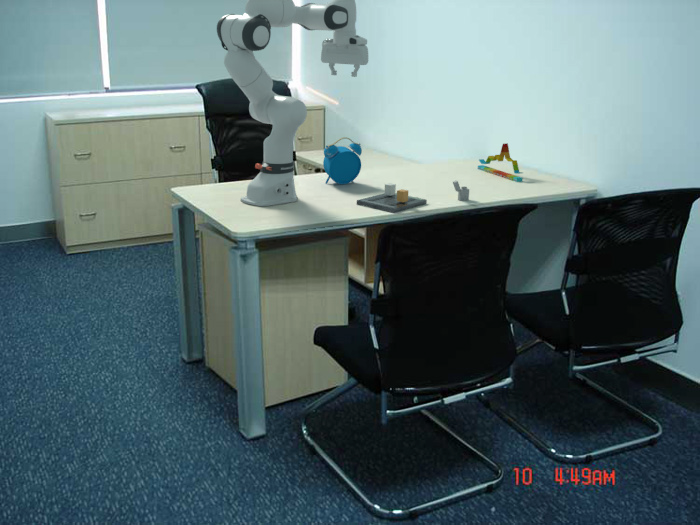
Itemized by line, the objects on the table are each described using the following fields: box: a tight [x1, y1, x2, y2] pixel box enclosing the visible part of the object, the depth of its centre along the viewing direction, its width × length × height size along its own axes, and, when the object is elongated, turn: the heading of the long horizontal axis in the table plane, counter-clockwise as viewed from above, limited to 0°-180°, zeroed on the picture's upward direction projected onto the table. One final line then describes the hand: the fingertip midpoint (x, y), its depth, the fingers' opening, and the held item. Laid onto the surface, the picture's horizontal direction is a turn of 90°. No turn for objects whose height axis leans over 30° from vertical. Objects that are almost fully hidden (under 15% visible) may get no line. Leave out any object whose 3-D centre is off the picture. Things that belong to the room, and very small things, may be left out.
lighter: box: [452, 180, 470, 202], centre depth 294 cm, size 7×2×8 cm, turn 117°
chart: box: [477, 143, 524, 183], centre depth 341 cm, size 30×3×15 cm, turn 25°
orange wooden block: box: [396, 189, 409, 202], centre depth 283 cm, size 3×3×4 cm
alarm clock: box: [322, 136, 362, 185], centre depth 316 cm, size 17×10×20 cm, turn 116°
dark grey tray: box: [356, 192, 427, 214], centre depth 287 cm, size 20×18×2 cm
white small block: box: [383, 182, 397, 196], centre depth 293 cm, size 3×3×4 cm
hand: (343, 75), depth 297 cm, fingers open, 8 cm apart
